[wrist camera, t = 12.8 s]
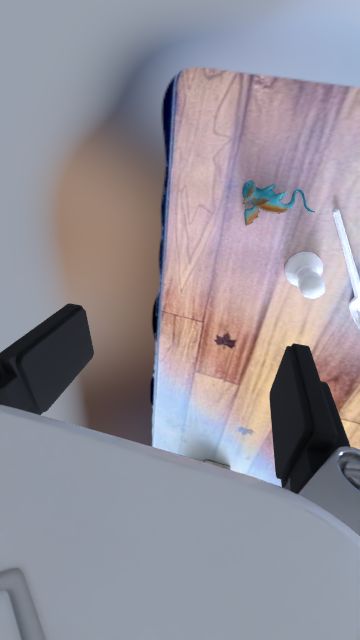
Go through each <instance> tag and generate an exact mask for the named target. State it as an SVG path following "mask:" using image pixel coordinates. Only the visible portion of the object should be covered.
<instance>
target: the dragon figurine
mask: <svg viewBox="0 0 360 640" xmlns="http://www.w3.org/2000/svg"><path fill="white" fill-rule="evenodd" d="M275 186H276V184H275V185H274V184H273V185H271V186H269V187H267V188H264V189H260V188H257V187H256V186H255V183H254V182H253V181H252V180H249V181H247V182H246V183H245V185H244V187H243V197H244V201H243V204H245V207H246V206H247V204H248V201H249V200H251V203H252V205H253V206H254V207H253V208H252V209H246V210H245V224H246V226H247V225H248V224H250V223H252V220H253V219H255V218H257V217H258V216H257V214H258V212H259V211H258V207H259V208H260V209H262V210H264V211H266V212H272V213H278V214H279V213H282V212H285V211H287V210H288V209H290V208H291V207H292V206H293V204H294V202H295V194H296V192H300V193H301V194H302V196H303V200H304V206H305V208H306V209H307V210H308V211H310V212H314V211H312V210H310V209H309V208H308V207H307V206H306V202H305V197H304V193H303V192H302V191H301V190H296V191H295V192H294V193H293V196H292V199H291V201H290V203H288V204H283V203H281V202H280V200H282V198H283V197H282V196H285V195H286V192H284V193H280V194H277V195H276V194H275V192H274V191H273V190H272V188H274V187H275Z"/></svg>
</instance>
